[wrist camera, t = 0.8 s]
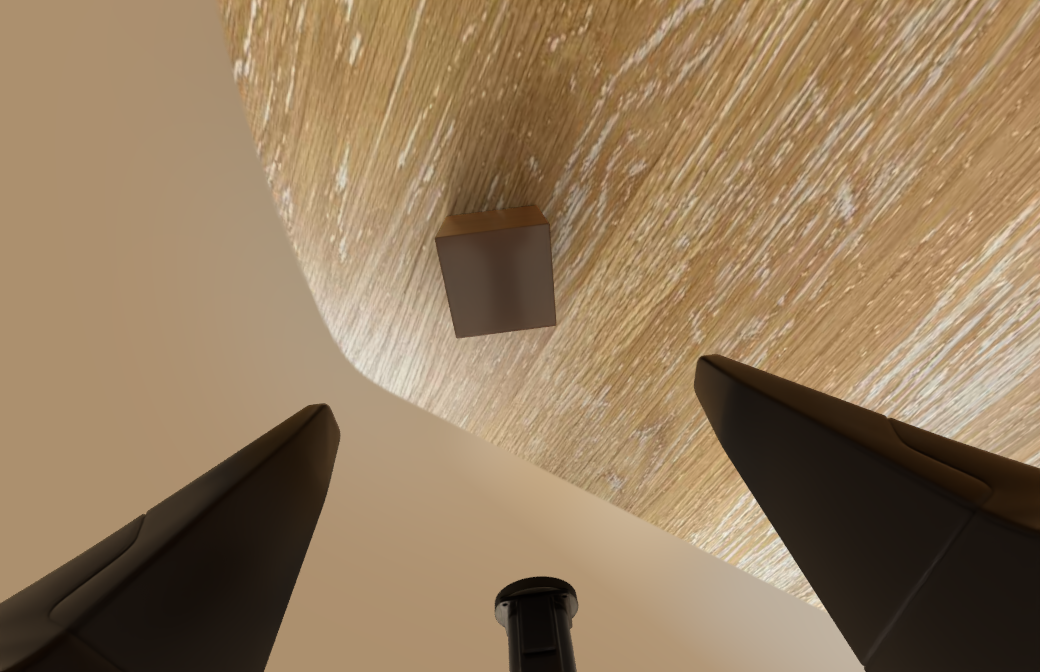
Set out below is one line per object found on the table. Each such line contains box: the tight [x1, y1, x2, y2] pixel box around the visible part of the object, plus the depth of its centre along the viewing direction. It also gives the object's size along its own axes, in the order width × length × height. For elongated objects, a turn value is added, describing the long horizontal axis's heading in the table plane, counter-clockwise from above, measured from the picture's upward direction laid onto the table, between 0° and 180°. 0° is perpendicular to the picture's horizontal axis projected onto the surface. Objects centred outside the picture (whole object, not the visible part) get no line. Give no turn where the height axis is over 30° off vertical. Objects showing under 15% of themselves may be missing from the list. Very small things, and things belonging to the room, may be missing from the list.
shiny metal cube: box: [435, 205, 556, 338], centre depth 18 cm, size 4×4×4 cm
